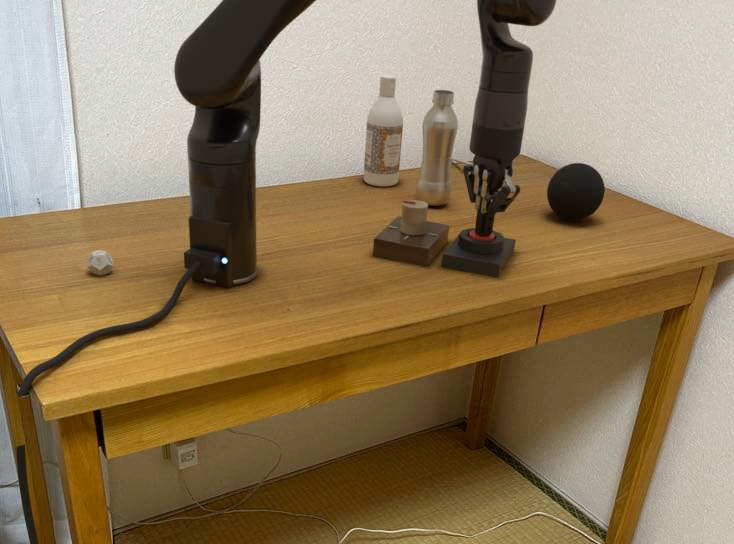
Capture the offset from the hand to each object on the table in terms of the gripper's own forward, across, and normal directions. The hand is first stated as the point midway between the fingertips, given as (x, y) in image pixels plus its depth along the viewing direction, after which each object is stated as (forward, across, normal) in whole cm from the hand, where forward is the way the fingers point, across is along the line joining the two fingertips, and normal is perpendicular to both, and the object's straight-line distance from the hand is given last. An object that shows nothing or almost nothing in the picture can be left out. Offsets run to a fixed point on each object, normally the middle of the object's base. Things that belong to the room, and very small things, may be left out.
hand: (482, 234), depth 129 cm
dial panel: (+4, +7, +9) cm, 12 cm away
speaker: (+4, +13, -27) cm, 30 cm away
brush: (+4, +39, -22) cm, 45 cm away
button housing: (+4, 0, 0) cm, 4 cm away
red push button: (+2, 0, 0) cm, 2 cm away
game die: (+4, +12, +57) cm, 58 cm away
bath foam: (+4, +42, -2) cm, 42 cm away
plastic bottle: (+4, +27, -6) cm, 28 cm away
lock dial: (+1, +7, +9) cm, 11 cm away
